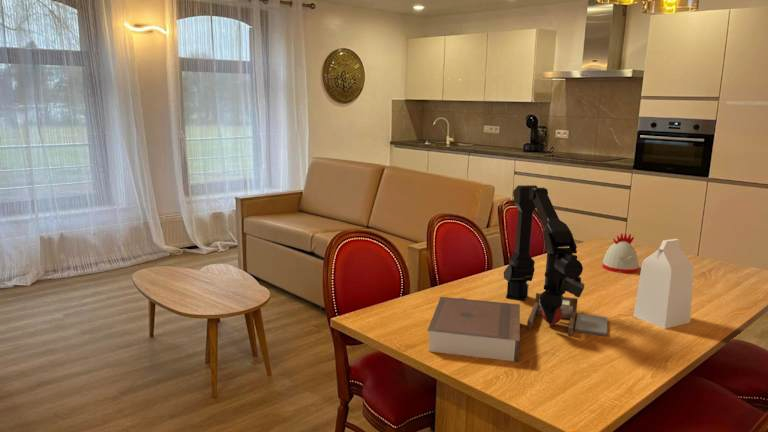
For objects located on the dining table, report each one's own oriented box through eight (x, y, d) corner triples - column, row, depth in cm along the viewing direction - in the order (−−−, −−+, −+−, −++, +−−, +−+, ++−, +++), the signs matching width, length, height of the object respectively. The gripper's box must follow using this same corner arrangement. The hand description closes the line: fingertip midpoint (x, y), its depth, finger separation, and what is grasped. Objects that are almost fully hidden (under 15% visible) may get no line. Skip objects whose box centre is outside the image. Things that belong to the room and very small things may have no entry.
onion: (538, 321, 180) (540, 297, 178) (556, 321, 180) (558, 297, 179) (545, 329, 174) (547, 304, 173) (563, 328, 175) (566, 303, 173)
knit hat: (643, 273, 233) (648, 237, 230) (609, 273, 233) (613, 236, 230) (629, 264, 246) (633, 229, 243) (597, 263, 246) (600, 229, 243)
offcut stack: (536, 313, 186) (537, 300, 185) (537, 309, 190) (538, 296, 189) (571, 319, 182) (572, 305, 182) (572, 314, 186) (573, 301, 186)
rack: (526, 328, 174) (528, 313, 173) (535, 307, 192) (536, 292, 191) (571, 336, 169) (573, 319, 168) (576, 313, 188) (577, 298, 187)
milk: (664, 328, 176) (675, 246, 171) (633, 316, 186) (642, 237, 181) (690, 322, 182) (700, 242, 177) (658, 310, 192) (667, 234, 187)
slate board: (574, 331, 173) (574, 328, 173) (577, 315, 186) (577, 313, 186) (606, 336, 170) (606, 333, 170) (607, 319, 183) (607, 317, 182)
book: (518, 324, 179) (519, 304, 178) (518, 364, 152) (519, 340, 151) (439, 316, 184) (440, 296, 183) (426, 353, 157) (427, 330, 156)
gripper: (582, 281, 162) (577, 333, 165) (585, 264, 179) (581, 311, 182) (541, 276, 166) (537, 327, 169) (548, 260, 183) (544, 306, 186)
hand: (551, 317), depth 177 cm, fingers open, 9 cm apart
